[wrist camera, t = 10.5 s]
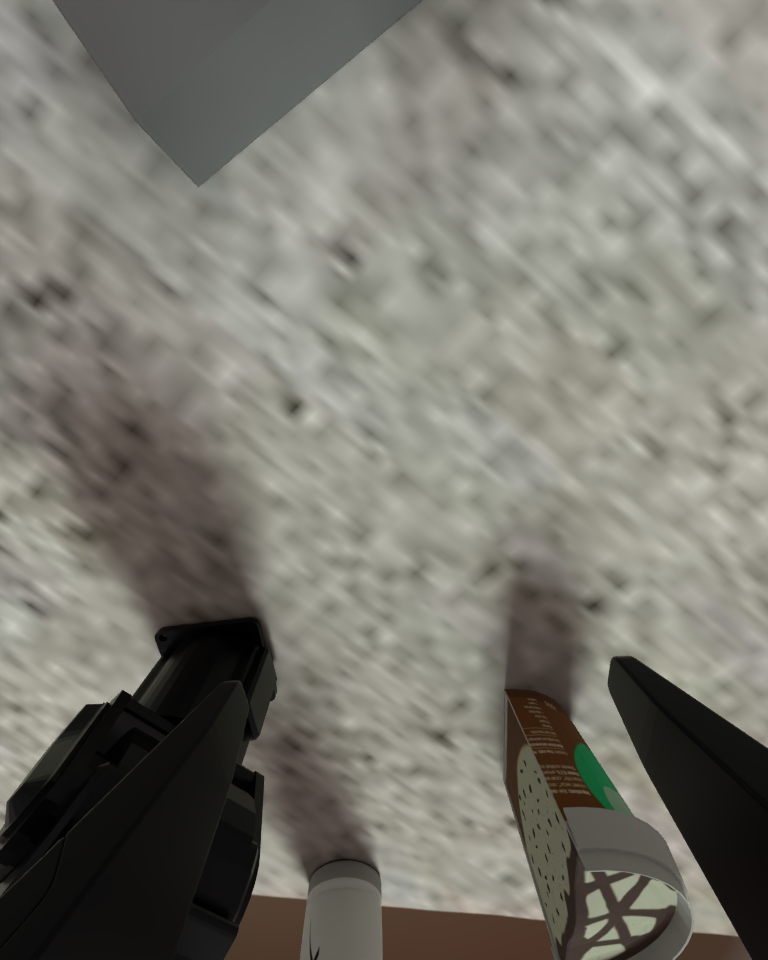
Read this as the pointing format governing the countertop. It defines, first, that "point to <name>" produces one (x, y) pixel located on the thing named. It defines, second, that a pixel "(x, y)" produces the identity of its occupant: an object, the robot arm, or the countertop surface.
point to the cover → (221, 63)
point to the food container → (588, 844)
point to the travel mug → (343, 913)
